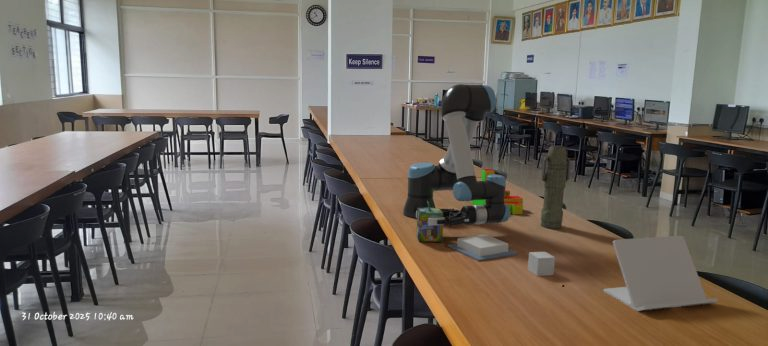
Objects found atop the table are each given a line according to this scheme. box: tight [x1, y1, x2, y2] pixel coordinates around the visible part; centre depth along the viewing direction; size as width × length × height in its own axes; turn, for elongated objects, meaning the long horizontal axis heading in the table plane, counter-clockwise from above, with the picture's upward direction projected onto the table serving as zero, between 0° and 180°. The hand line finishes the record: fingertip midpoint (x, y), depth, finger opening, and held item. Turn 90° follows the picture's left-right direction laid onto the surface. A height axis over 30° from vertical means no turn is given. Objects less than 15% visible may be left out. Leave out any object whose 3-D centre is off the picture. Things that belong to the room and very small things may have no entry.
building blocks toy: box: [471, 169, 524, 216], centre depth 266 cm, size 19×25×18 cm
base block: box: [456, 233, 509, 256], centre depth 200 cm, size 13×13×3 cm
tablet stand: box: [603, 235, 719, 312], centre depth 158 cm, size 18×25×17 cm
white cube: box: [527, 251, 556, 277], centre depth 179 cm, size 6×6×6 cm
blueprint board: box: [447, 243, 519, 262], centre depth 200 cm, size 18×18×1 cm
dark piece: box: [540, 144, 572, 230], centre depth 234 cm, size 9×12×35 cm
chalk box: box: [416, 201, 444, 243], centre depth 211 cm, size 9×9×15 cm
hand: (422, 218), depth 210 cm, fingers closed on chalk box, 11 cm apart
